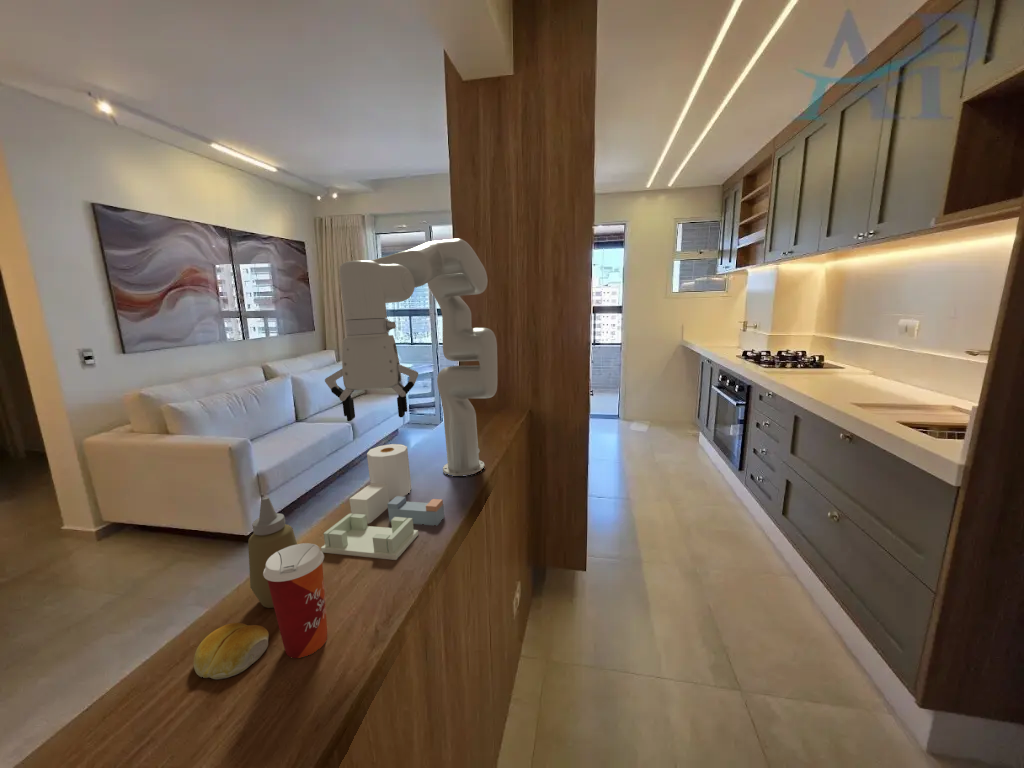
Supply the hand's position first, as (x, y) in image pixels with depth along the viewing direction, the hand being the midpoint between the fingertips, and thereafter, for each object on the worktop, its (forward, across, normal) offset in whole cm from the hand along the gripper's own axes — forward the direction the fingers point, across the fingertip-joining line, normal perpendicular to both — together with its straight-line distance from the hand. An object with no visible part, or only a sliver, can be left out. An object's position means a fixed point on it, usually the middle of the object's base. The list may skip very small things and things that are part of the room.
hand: (376, 417), depth 81 cm
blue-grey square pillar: (+27, -4, -11) cm, 30 cm away
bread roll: (+28, +18, +25) cm, 41 cm away
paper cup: (+28, +8, +24) cm, 38 cm away
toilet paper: (+27, +5, -28) cm, 39 cm away
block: (+27, +7, -16) cm, 33 cm away
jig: (+27, +4, -2) cm, 28 cm away
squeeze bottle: (+28, +16, +12) cm, 34 cm away
